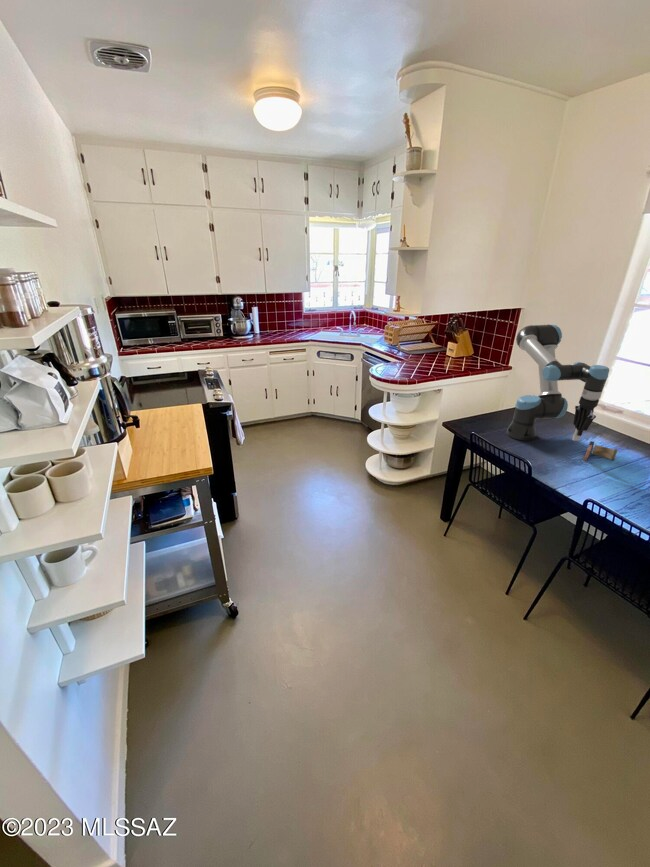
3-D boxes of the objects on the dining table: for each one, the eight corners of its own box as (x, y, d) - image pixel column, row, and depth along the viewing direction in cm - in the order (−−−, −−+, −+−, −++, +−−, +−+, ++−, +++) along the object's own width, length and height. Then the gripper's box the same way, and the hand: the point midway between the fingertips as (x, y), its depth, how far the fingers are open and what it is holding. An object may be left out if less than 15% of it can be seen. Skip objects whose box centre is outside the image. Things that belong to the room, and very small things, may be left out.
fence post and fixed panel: (586, 452, 190) (589, 442, 187) (587, 451, 191) (590, 440, 188) (613, 460, 182) (617, 449, 179) (614, 459, 183) (618, 448, 180)
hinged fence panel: (586, 453, 189) (590, 443, 187) (589, 454, 189) (592, 444, 186) (583, 460, 183) (586, 450, 181) (585, 461, 182) (589, 451, 180)
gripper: (574, 392, 180) (561, 434, 191) (590, 403, 169) (575, 446, 180) (589, 392, 180) (575, 433, 191) (606, 402, 168) (590, 446, 179)
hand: (575, 439), depth 185 cm, fingers closed
